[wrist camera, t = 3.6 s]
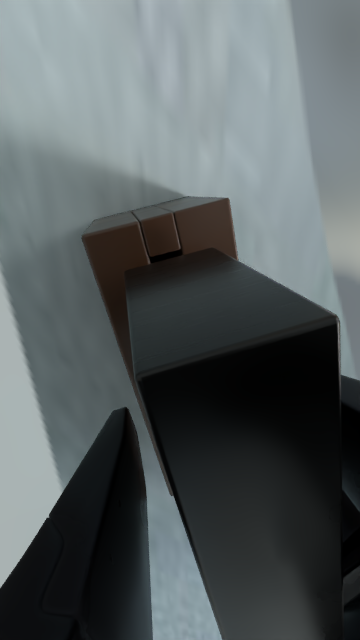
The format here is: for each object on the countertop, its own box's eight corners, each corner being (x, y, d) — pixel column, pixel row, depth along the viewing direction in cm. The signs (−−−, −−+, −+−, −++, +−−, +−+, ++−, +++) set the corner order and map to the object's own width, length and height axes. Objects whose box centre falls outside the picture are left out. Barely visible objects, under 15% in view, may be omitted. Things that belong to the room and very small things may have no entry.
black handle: (178, 227, 13) (343, 315, 3) (213, 387, 16) (346, 650, 7) (120, 242, 12) (132, 377, 3) (167, 401, 16) (239, 693, 6)
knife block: (189, 195, 13) (229, 197, 8) (227, 391, 17) (269, 464, 12) (92, 220, 12) (79, 235, 8) (155, 413, 16) (170, 497, 12)
